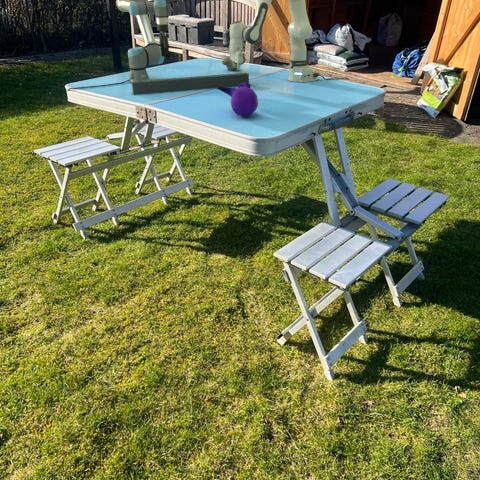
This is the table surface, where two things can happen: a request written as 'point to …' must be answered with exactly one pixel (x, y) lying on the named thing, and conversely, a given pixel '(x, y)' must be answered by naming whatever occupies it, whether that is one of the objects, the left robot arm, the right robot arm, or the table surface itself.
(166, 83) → the bar
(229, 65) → the teapot
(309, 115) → the table surface
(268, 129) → the table surface
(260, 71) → the table surface
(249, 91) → the toy
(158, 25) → the left robot arm
